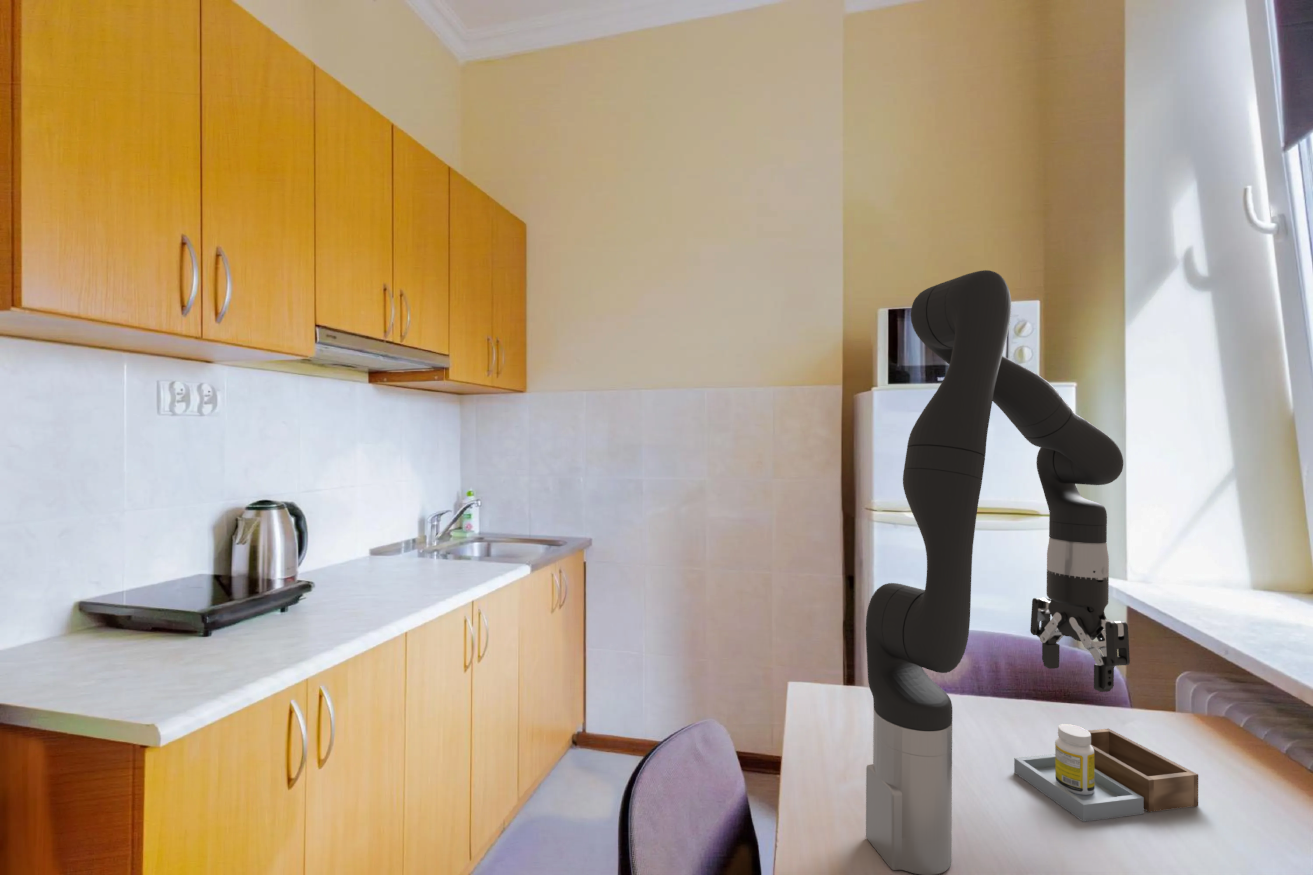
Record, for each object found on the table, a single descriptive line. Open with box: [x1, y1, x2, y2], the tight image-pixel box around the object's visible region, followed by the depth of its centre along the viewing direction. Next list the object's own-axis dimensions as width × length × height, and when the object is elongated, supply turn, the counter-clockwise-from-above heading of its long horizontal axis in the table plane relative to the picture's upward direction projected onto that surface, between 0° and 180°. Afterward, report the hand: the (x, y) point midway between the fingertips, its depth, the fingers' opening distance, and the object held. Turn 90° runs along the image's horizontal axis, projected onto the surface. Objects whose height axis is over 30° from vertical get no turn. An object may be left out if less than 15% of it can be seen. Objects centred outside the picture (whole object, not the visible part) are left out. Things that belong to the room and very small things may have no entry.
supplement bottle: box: [1054, 723, 1095, 795], centre depth 86 cm, size 5×5×8 cm
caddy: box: [1087, 728, 1199, 813], centre depth 89 cm, size 9×14×4 cm, turn 11°
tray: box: [1013, 753, 1144, 823], centre depth 86 cm, size 10×12×2 cm
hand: (1075, 678), depth 86 cm, fingers open, 8 cm apart
